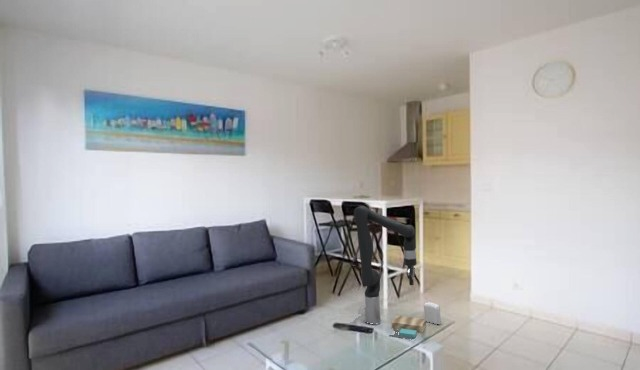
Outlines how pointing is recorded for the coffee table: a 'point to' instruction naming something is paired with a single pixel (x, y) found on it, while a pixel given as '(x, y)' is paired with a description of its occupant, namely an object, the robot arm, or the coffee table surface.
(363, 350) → the coffee table surface
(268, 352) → the coffee table surface
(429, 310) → the photo printer
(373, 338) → the coffee table surface
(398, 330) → the mat
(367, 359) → the coffee table surface
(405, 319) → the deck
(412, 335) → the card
